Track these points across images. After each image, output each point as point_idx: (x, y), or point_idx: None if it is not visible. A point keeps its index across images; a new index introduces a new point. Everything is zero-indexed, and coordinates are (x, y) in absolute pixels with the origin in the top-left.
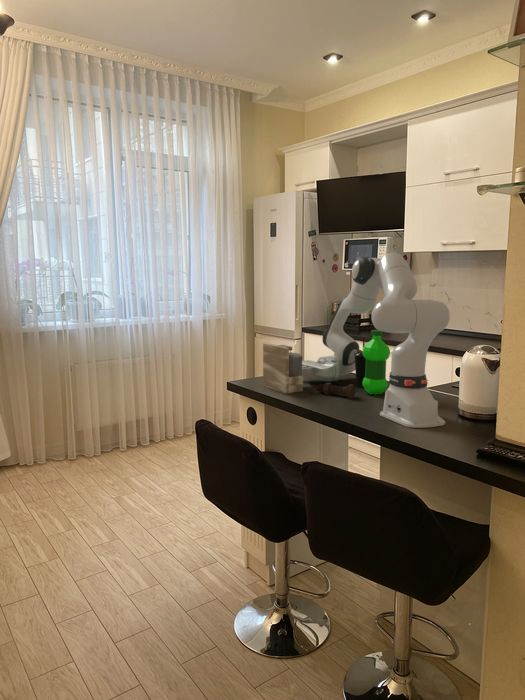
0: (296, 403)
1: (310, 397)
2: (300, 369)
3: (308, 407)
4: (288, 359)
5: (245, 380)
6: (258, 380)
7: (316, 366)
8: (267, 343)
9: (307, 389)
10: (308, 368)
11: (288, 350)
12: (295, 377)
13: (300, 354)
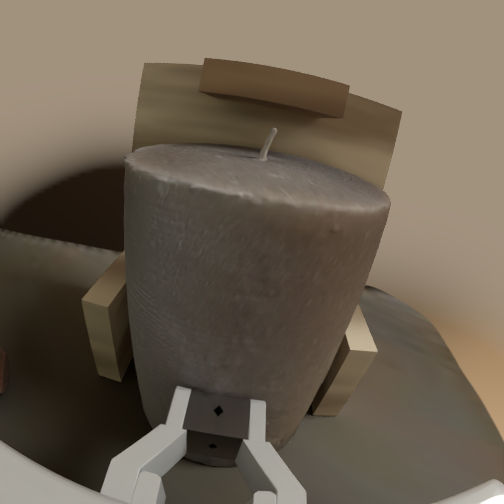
0: (48, 247)
1: (21, 304)
2: (127, 296)
3: (10, 239)
4: (135, 129)
5: (434, 335)
6: (429, 368)
7: (22, 478)
8: (380, 104)
9: (93, 417)
10: (132, 446)
11: (143, 75)
12: (111, 266)
13: (191, 173)
